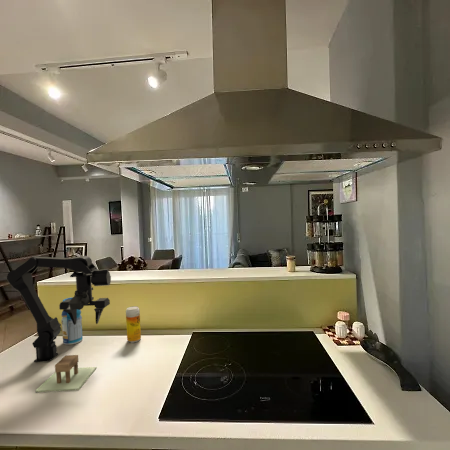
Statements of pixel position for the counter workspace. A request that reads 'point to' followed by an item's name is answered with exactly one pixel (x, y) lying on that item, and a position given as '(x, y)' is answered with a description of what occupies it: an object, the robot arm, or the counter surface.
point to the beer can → (133, 324)
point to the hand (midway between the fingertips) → (86, 324)
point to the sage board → (74, 384)
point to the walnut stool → (66, 367)
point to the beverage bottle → (71, 328)
